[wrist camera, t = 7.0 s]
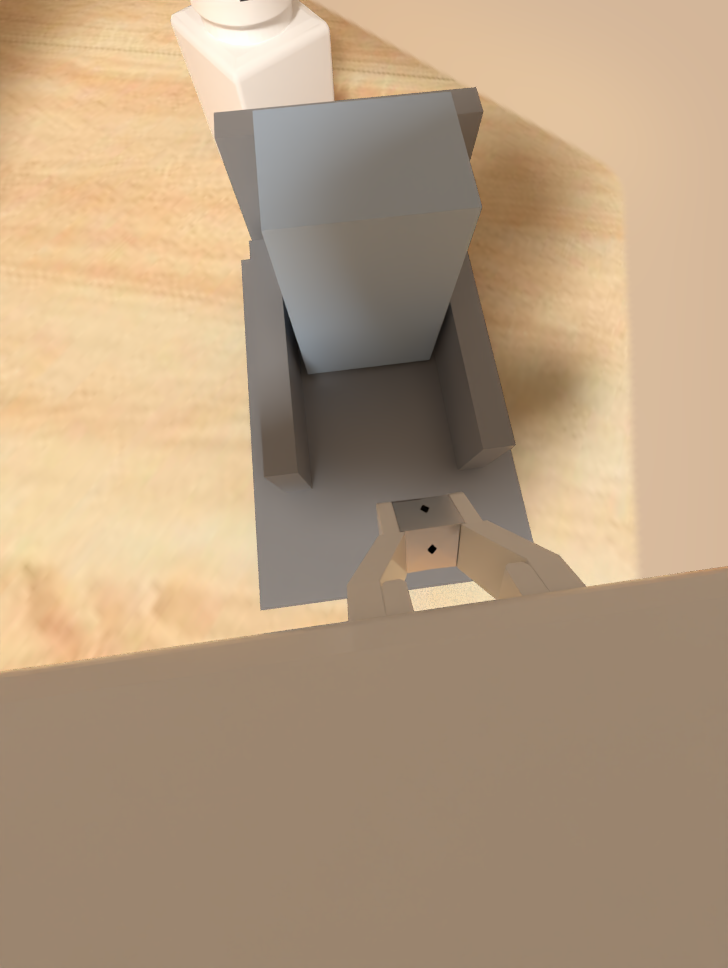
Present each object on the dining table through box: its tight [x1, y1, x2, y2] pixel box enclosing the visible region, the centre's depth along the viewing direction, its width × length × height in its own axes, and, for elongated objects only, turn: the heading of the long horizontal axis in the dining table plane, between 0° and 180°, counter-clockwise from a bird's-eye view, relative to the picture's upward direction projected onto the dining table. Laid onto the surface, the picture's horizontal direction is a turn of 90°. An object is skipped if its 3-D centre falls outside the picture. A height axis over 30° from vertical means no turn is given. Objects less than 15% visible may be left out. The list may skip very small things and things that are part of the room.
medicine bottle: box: [171, 0, 335, 161], centre depth 19 cm, size 7×7×12 cm
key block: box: [252, 92, 482, 374], centre depth 16 cm, size 6×8×9 cm
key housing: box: [214, 87, 533, 610], centre depth 16 cm, size 24×16×9 cm, turn 7°
